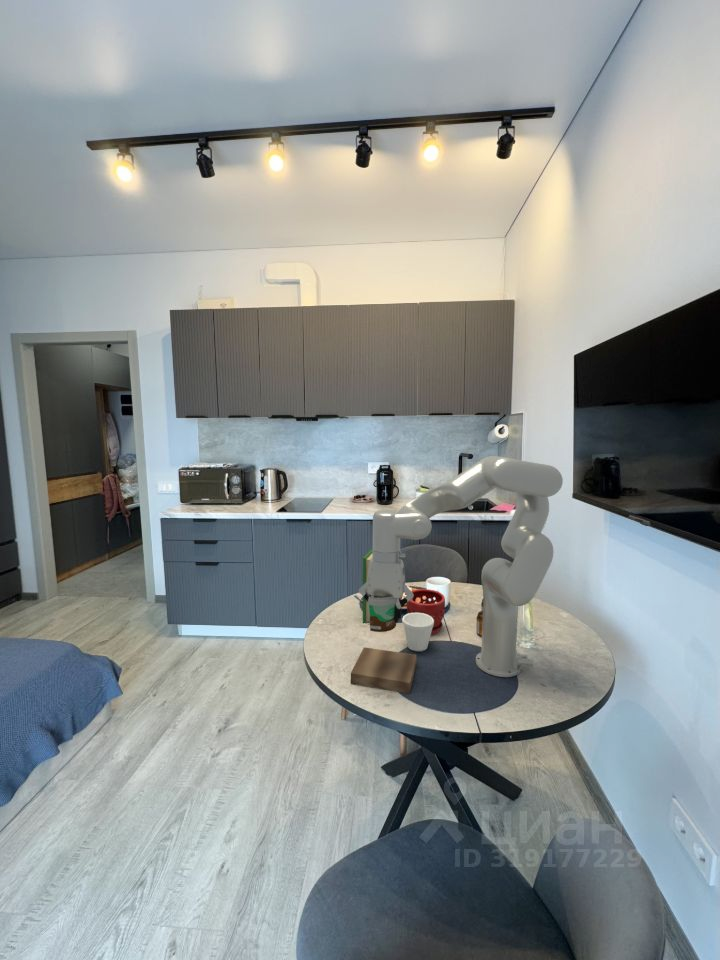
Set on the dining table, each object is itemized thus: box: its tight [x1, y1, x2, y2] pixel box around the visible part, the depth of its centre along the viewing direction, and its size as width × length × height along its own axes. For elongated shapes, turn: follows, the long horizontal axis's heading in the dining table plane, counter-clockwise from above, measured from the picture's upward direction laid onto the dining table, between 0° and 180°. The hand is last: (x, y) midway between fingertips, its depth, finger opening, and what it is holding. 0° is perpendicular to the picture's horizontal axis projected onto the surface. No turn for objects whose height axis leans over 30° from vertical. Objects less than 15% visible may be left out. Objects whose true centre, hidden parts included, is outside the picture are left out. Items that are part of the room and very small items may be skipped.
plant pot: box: [406, 588, 446, 635], centre depth 140 cm, size 13×13×12 cm
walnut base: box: [350, 647, 418, 695], centre depth 114 cm, size 16×14×3 cm
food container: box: [368, 596, 400, 633], centre depth 112 cm, size 12×6×10 cm, turn 148°
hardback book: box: [362, 547, 373, 624], centre depth 151 cm, size 18×7×24 cm, turn 163°
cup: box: [401, 613, 434, 653], centre depth 128 cm, size 10×10×9 cm
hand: (385, 618), depth 113 cm, fingers closed on food container, 5 cm apart
